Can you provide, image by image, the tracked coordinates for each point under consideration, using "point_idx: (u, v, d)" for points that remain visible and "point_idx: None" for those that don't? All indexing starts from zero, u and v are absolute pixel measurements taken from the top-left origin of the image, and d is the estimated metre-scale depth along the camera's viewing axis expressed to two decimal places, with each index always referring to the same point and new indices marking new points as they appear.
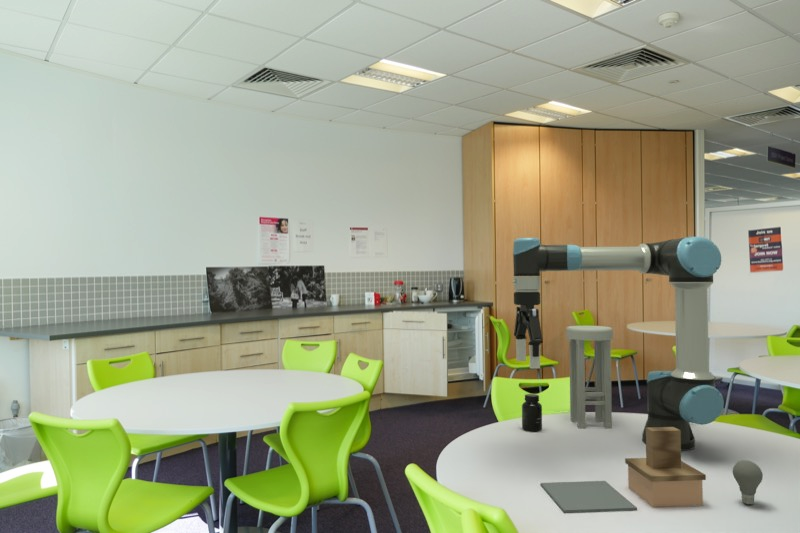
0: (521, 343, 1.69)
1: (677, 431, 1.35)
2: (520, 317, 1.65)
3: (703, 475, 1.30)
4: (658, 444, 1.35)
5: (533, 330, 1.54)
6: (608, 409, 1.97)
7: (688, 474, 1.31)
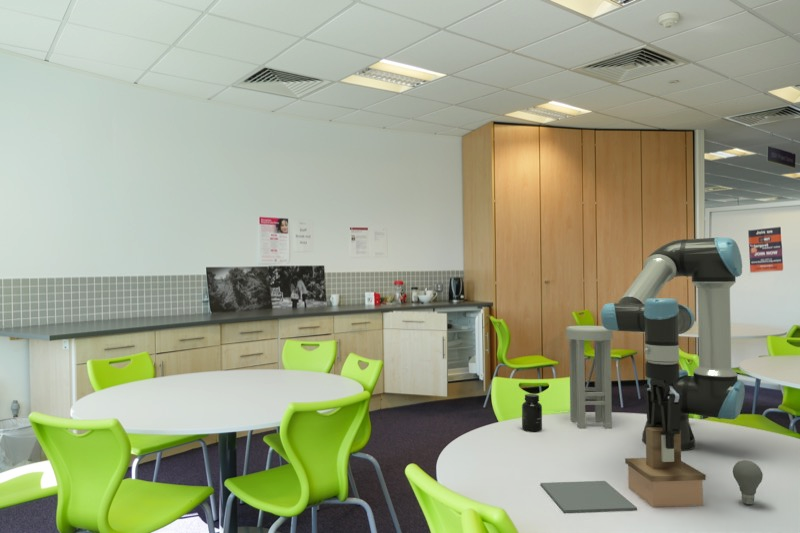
0: None
1: None
2: (654, 392, 1.38)
3: (703, 475, 1.30)
4: (658, 444, 1.35)
5: (671, 420, 1.31)
6: (608, 409, 1.97)
7: (688, 474, 1.31)
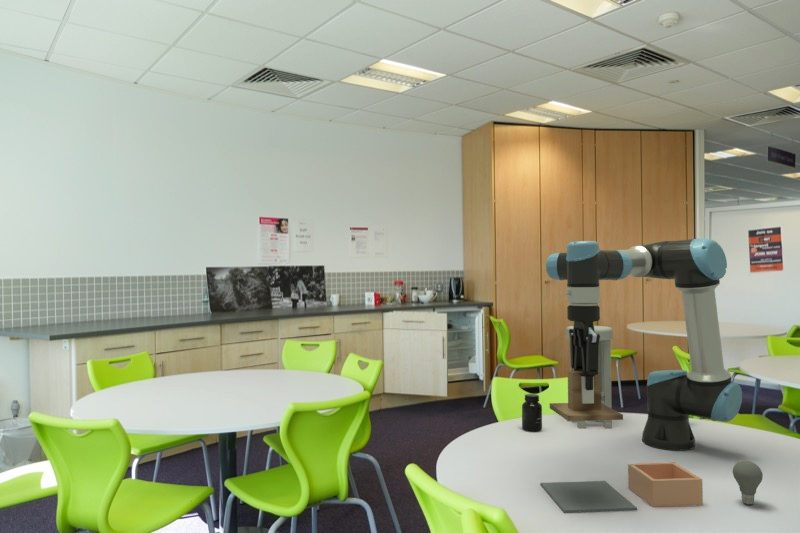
0: None
1: None
2: (576, 335, 1.38)
3: (620, 415, 1.30)
4: (578, 386, 1.35)
5: (589, 360, 1.31)
6: None
7: (606, 414, 1.31)
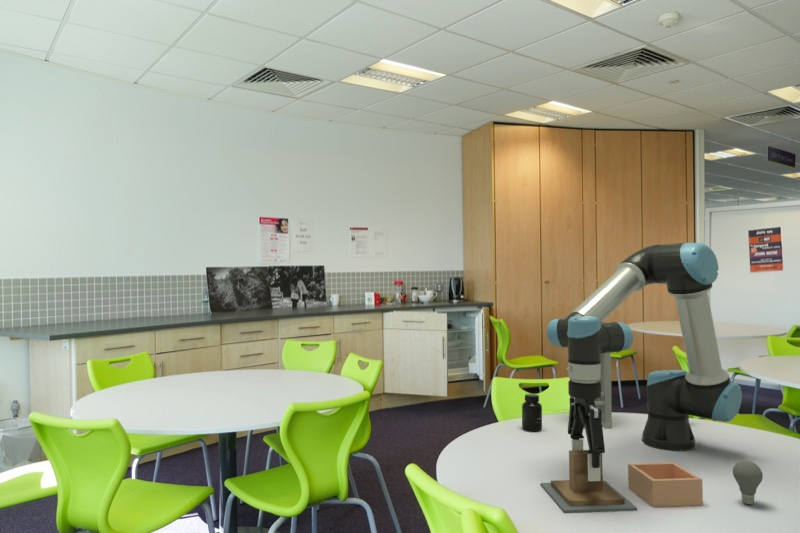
0: (578, 445, 1.41)
1: None
2: (576, 411, 1.38)
3: (622, 499, 1.30)
4: (579, 467, 1.35)
5: (594, 437, 1.29)
6: (608, 409, 1.97)
7: (607, 498, 1.30)
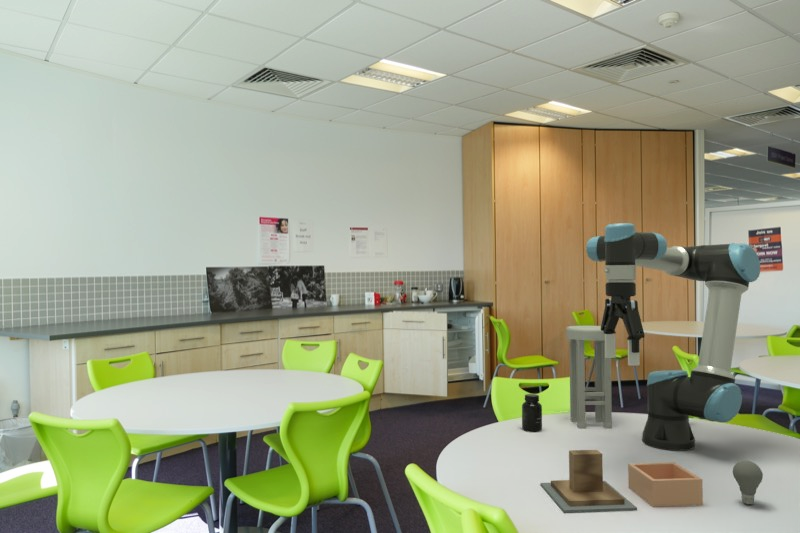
0: (610, 338, 1.56)
1: (599, 454, 1.35)
2: (612, 310, 1.51)
3: (622, 499, 1.30)
4: (579, 467, 1.35)
5: (633, 323, 1.41)
6: (608, 409, 1.97)
7: (607, 498, 1.30)
